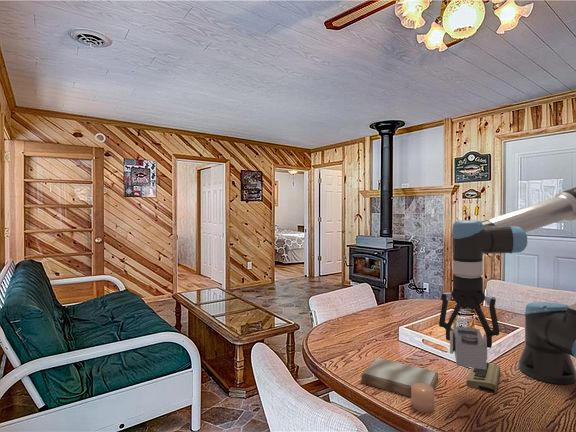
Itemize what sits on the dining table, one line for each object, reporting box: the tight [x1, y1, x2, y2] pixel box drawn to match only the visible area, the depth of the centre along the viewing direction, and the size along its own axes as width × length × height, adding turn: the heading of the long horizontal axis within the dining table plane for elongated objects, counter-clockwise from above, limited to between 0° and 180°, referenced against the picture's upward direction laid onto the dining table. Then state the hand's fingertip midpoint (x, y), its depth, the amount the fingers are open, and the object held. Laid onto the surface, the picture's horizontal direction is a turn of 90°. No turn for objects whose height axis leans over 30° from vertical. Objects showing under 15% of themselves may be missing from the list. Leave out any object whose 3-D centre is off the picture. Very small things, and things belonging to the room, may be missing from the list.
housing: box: [452, 325, 487, 370], centre depth 98 cm, size 14×7×7 cm, turn 158°
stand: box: [360, 357, 439, 398], centre depth 109 cm, size 20×14×3 cm
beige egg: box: [410, 383, 435, 414], centre depth 96 cm, size 6×6×5 cm
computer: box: [466, 361, 501, 394], centre depth 110 cm, size 16×8×3 cm, turn 145°
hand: (468, 354), depth 98 cm, fingers closed on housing, 8 cm apart
